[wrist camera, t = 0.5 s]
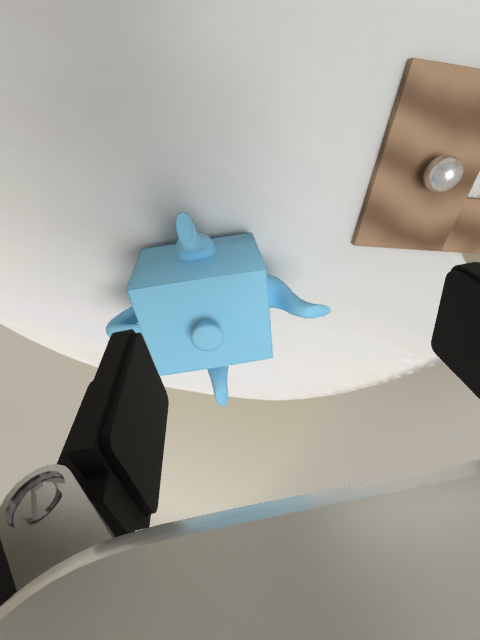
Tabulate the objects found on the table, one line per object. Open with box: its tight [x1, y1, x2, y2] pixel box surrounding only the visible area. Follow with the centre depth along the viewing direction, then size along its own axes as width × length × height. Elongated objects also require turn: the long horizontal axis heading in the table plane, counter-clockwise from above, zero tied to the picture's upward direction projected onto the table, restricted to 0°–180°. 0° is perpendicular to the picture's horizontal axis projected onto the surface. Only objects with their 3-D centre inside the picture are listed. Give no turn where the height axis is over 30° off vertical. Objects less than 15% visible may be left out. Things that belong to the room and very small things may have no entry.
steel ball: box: [423, 155, 463, 192], centre depth 37 cm, size 4×4×4 cm
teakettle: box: [106, 212, 331, 406], centre depth 39 cm, size 19×19×15 cm
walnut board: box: [352, 58, 480, 254], centre depth 40 cm, size 20×22×1 cm
